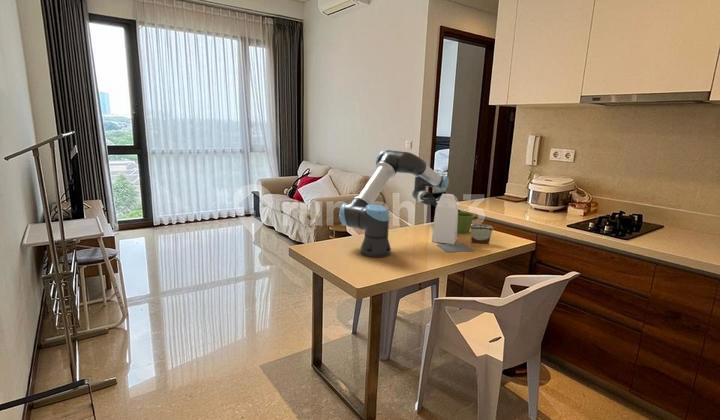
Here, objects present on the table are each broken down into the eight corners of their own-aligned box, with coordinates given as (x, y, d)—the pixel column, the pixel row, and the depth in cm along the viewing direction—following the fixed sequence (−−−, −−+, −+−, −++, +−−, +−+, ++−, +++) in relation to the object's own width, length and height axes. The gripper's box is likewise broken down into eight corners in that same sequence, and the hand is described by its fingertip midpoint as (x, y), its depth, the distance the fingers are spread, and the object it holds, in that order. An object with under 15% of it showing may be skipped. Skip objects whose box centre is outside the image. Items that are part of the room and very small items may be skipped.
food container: (489, 241, 215) (491, 224, 213) (491, 244, 209) (493, 227, 207) (466, 240, 216) (468, 223, 214) (468, 243, 210) (470, 225, 208)
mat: (446, 252, 194) (446, 251, 194) (436, 245, 205) (436, 244, 205) (474, 250, 198) (474, 250, 198) (463, 243, 209) (463, 243, 209)
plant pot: (449, 230, 236) (451, 212, 233) (466, 229, 239) (468, 211, 236) (458, 235, 224) (460, 216, 222) (476, 234, 227) (478, 216, 225)
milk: (456, 239, 217) (460, 193, 211) (453, 244, 206) (457, 196, 201) (435, 236, 221) (438, 191, 216) (431, 241, 211) (434, 194, 205)
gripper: (434, 203, 243) (452, 211, 220) (415, 203, 240) (431, 212, 217) (435, 191, 241) (453, 199, 219) (416, 191, 238) (432, 199, 216)
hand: (442, 205), depth 218 cm, fingers closed
